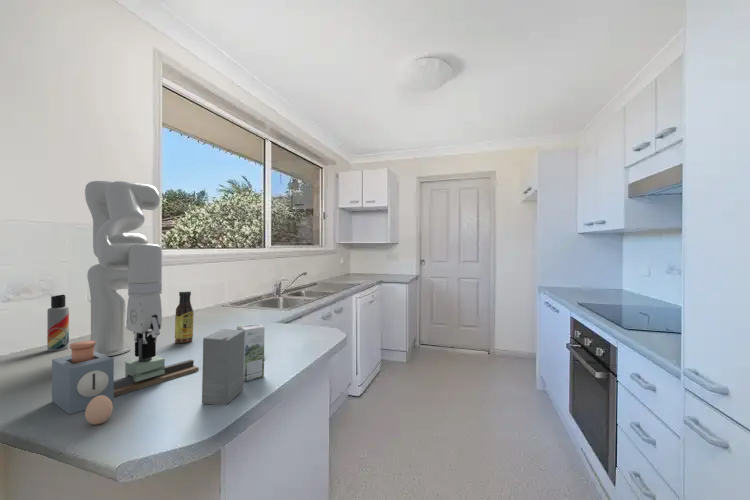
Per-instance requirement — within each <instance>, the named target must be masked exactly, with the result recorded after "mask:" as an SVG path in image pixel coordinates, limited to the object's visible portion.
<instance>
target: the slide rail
mask: <svg viewBox="0 0 750 500" xmlns="http://www.w3.org/2000/svg"><path fill="white" fill-rule="evenodd" d="M194 363H195V361H194V360H193V359H188V360H184V361H179V362H177V363H176V362H175V363H173V364H169V365H165V374H161V375H158V376H155V377H151V378H148V379H144V380H141V381H137V382H134V381H133V376H129V377H121V378H119V379H114V397H117V396H120V395H124V394H128V393H130V392H134V391H137V390H140V389H144V388H146V387H149V386H153V385H157V384H160V383H162V382H166V381H169V380H173V379H176V378H179V377H182V376H183V377H184V376H186V375H189V374H192V373H196V372H198V371H199V366H196V365H194Z"/></svg>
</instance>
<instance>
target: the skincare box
mask: <svg viewBox="0 0 750 500" xmlns="http://www.w3.org/2000/svg"><path fill="white" fill-rule="evenodd" d="M244 337H245V331H243V330H237V329H229V328H228V329H227V328H222V329H220V330H217V331H216V332H213V333H212V334H209V335H207V336H205V337H203V338H202V339H203V340H202V374H201V375H202V379H201V381H202V383H201V403H202V404H203V405H204V404H205V405H215V406H216V405H219V406H227V405H229V403H230V402H231V401H233V400H235V398H236V397H237V396H238V395H240V393H241V392H243V391H244V381H243V370H244Z"/></svg>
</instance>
